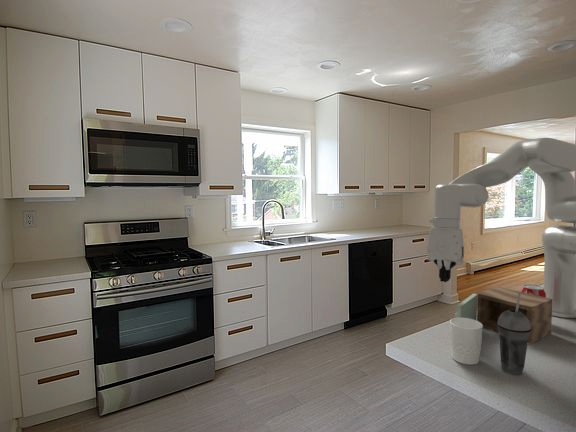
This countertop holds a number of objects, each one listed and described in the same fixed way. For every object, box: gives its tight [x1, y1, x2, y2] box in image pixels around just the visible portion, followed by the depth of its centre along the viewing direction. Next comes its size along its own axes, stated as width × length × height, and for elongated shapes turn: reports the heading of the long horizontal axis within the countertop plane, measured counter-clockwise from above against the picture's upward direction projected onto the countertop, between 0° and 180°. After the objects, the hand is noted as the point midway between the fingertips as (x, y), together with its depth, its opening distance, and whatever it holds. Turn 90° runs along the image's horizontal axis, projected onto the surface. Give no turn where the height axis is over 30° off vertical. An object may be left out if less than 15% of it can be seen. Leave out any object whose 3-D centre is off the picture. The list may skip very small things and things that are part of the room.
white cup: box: [449, 317, 484, 366], centre depth 95 cm, size 8×8×10 cm
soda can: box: [520, 284, 546, 298], centre depth 119 cm, size 7×7×12 cm
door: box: [454, 293, 478, 321], centre depth 111 cm, size 2×16×10 cm, turn 136°
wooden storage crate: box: [477, 286, 553, 345], centre depth 113 cm, size 13×16×11 cm
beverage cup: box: [497, 293, 531, 377], centre depth 88 cm, size 7×7×20 cm
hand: (444, 280), depth 112 cm, fingers closed
